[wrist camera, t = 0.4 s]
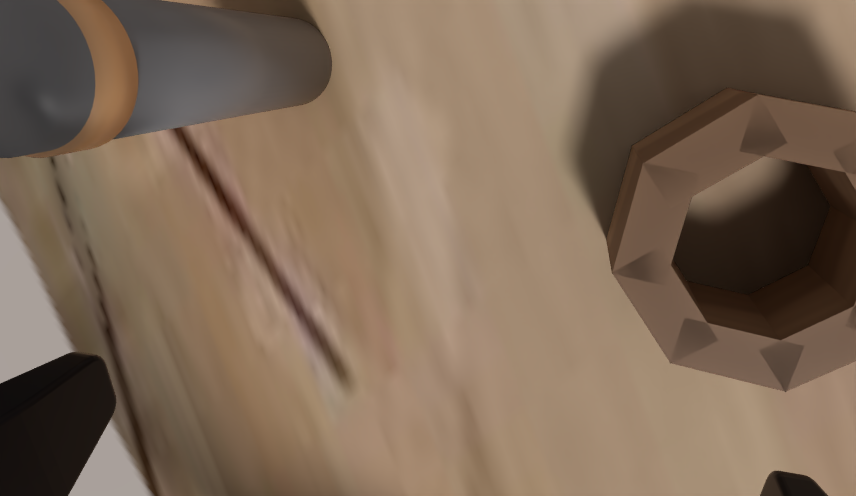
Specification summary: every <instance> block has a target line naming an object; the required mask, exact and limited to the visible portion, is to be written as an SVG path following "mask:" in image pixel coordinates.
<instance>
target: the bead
mask: <svg viewBox="0 0 856 496" xmlns="http://www.w3.org/2000/svg"><path fill="white" fill-rule="evenodd" d="M763 156H766V157H771V158H776V159H781V160H786V161H791V162H796V163H801V164H806V165H807V167H808V168H809V170H810V172H811V173H812V175H813V177H814V179H815V180H816V182H817V184H818V185H819V187H820V189H821V190H822V192H823V194H824V196H825V197H826V199H827V201H828V202H829V204H830V209H829V212H828V214H827V217H826V219H825V222H824V225H823V227H822V230H821V233H820V235H819V238H818V240H817V243H816V246H815V248H814V251H813V253H812V256H811V259H810V261H809V264H808V266H806V267H804V268H802V269H800V270H798V271H795V272H793V273H791V274H789V275H787V276H785V277H783V278H781V279H779V280H777V281H775V282H773V283H771V284H769V285H767V286H765V287H763V288H761V289H759V290H757V291H755V292H753V293H751V294H749V295H746V294H742V293H737V292H733V291H728V290H724V289H720V288H715V287H711V286H707V285H702V284H698V283H694V282H689V281H686V279H685V278H684V276H683V275H682V273H681V271H680V270H679V268H678V267H677V265H676V263H675V262H674V260H673V256H674V253H675V250H676V247H677V243H678V240H679V237H680V234H681V230H682V227H683V224H684V221H685V218H686V214H687V211H688V208H689V205H690V201H691V198H692V196H694V195H696V194H697V193H699V192H701V191H703V190H705V189H706V188H708V187H710V186H712V185H713V184H715V183H717V182H719V181H721V180H722V179H724V178H726V177H728V176H729V175H731V174H733V173H735V172H737V171H738V170H740V169H742V168H744V167H745V166H747V165H749V164H751V163H753V162H754V161H756V160H758V159H760V158H761V157H763ZM606 241H607V246H608V252H609V258H610V264H611V270H612V274H613V275H614V276H615V278H616V279H617V281H618V283H619V284H620V286H621V287H622V289H623V290H624V292H625V293H626V295H627V296H628V298H629V300H630V301H631V303H632V304H633V306H634V307H635V309H636V310H637V312H638V314H639V315H640V317H641V318H642V320H643V321H644V323H645V324H646V326H647V327H648V329H649V331H650V332H651V334H652V335H653V337H654V338H655V340H656V341H657V343H658V345H659V346H660V348H661V349H662V351H663V352H664V354H665V355H666V357H667V358H668V360H669V362H670V363H672V364H676V365H680V366H684V367H688V368H693V369H697V370H701V371H705V372H709V373H713V374H717V375H721V376H725V377H729V378H733V379H737V380H741V381H745V382H749V383H753V384H757V385H761V386H765V387H769V388H773V389H777V390H781V391H785V392H786V391H788V390H790V389H793V388H795V387H797V386H800V385H802V384H804V383H806V382H809V381H811V380H813V379H816V378H818V377H820V376H822V375H825V374H827V373H829V372H832V371H834V370H836V369H838V368H841V367H843V366H845V365H848V364H850V363H852V362H854V361H856V112H855V111H850V110H845V109H841V108H833V107H828V106H822V105H817V104H811V103H806V102H800V101H795V100H790V99H784V98H779V97H773V96H768V95H763V94H757V93H752V92H746V91H741V90H736V89H732V88H726V89H724V90H722V91H721V92H719V93H718V94H716V95H714V96H713V97H711V98H709V99H708V100H706V101H704V102H703V103H701V104H700V105H698V106H696V107H695V108H693V109H691V110H690V111H688V112H686V113H685V114H683V115H681V116H680V117H678V118H677V119H675V120H673V121H672V122H670V123H668V124H667V125H665V126H663V127H662V128H660V129H659V130H657V131H655V132H654V133H652V134H650V135H649V136H647V137H645V138H644V139H642V140H641V141H639V142H637V143H636V144H634V145H632V148H631V151H630V155H629V159H628V162H627V166H626V170H625V173H624V177H623V181H622V184H621V188H620V191H619V195H618V199H617V202H616V206H615V210H614V213H613V217H612V221H611V224H610V228H609V232H608V235H607V238H606Z"/></svg>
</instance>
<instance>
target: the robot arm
mask: <svg viewBox="0 0 856 496" xmlns="http://www.w3.org/2000/svg"><path fill="white" fill-rule="evenodd" d="M115 406H116V395H115V392H114V389H113V386H112V382H111V379H110V376H109V373H108V369H107V366H106V363H105V361H104V360H103V359H102V358H101V357H100V356H98V355H93V354H87V353H81V352H72V353H68V354H66V355H64V356H61V357H59V358H57V359H55V360H52V361H50V362H48V363H46V364H44V365H41V366H39V367H37V368H34V369H32V370H30V371H28V372H25V373H23V374H21V375H19V376H17V377H14V378H12V379H10V380H8V381H5V382H3V383H1V384H0V496H68V494H69V493H70V491H71V489H72V488H73V486H74V484H75V482H76V480H77V479H78V477H79V475H80V473H81V471H82V469H83V468H84V466H85V464H86V462H87V461H88V459H89V457H90V455H91V453H92V452H93V450H94V448H95V446H96V444H97V443H98V441H99V439H100V437H101V435H102V434H103V432H104V430H105V428H106V426H107V424H108V423H109V421H110V419H111V417H112V415H113V413H114V410H115ZM760 496H828V495H827V494H826V493H825V492H824V491H823V490H822V488H821V487H820V486H819V485H818V484H817V483H816V482H815V481H814V480H813V479H811V478H810V477H808V476H805V475H800V474H794V473H788V472H782V471H773V472H771V473H770V474H769V476H768V477H767V479H766V482H765V484H764V487H763V490H762V492H761V495H760Z"/></svg>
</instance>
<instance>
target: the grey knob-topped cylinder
mask: <svg viewBox="0 0 856 496" xmlns="http://www.w3.org/2000/svg"><path fill="white" fill-rule="evenodd" d="M331 70H332V59H331V53H330V50H329V47H328V44H327V42H326V40H325V39H324V37H323V36H322V34H321V33H320V32H319V31H318V30H317V29H316V28H315V27H314V26H313V25H311V24H309V23H308V22H306V21H304V20H301V19H297V18H290V17H283V16H275V15H267V14H260V13H252V12H245V11H237V10H230V9H222V8H214V7H207V6H199V5H192V4H184V3H177V2H169V1H162V0H0V158H12V157H19V156H28V157H34V158H44V157H51V156H57V155H62V154H67V153H72V152H77V151H82V150H88V149H92V148H96V147H99V146H101V145H103V144H105V143H107V142H109V141H110V140H112V139H117V138H123V137H128V136H134V135H139V134H145V133H150V132H156V131H161V130H167V129H172V128H178V127H183V126H188V125H194V124H199V123H205V122H210V121H216V120H221V119H227V118H232V117H238V116H243V115H249V114H254V113H260V112H265V111H271V110H276V109H282V108H287V107H293V106H298V105H303V104H306V103H309V102H311V101H313V100H314V99H316V98H317V97H318V96H319V95H320V94H321V93H322V92H323V91H324V89H325V88H326V86H327V84H328V82H329V79H330V76H331Z"/></svg>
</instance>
